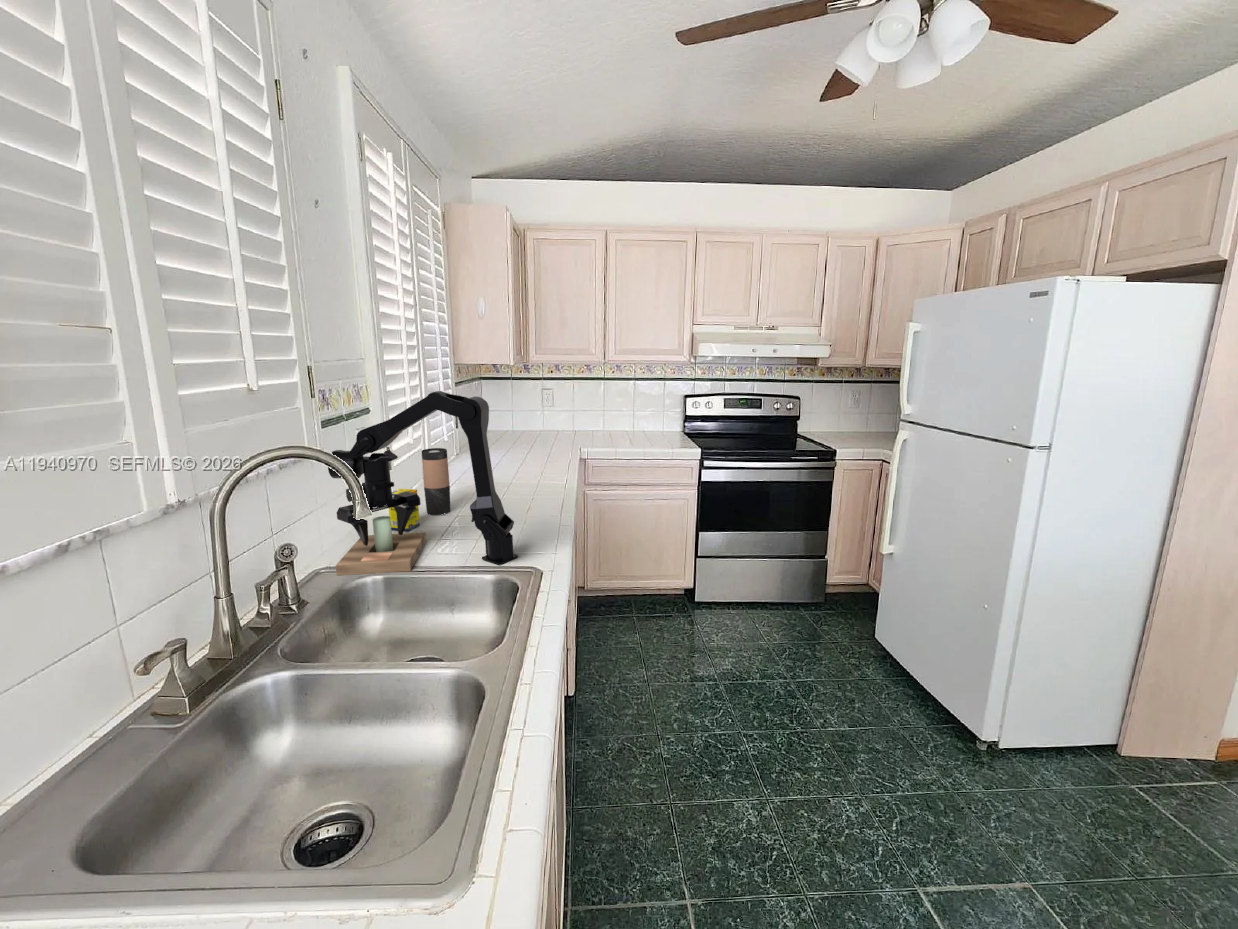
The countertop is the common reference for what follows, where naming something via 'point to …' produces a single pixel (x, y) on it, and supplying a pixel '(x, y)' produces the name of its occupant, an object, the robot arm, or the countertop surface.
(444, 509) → the travel mug
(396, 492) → the supplement box
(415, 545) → the hole plate
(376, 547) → the peg
